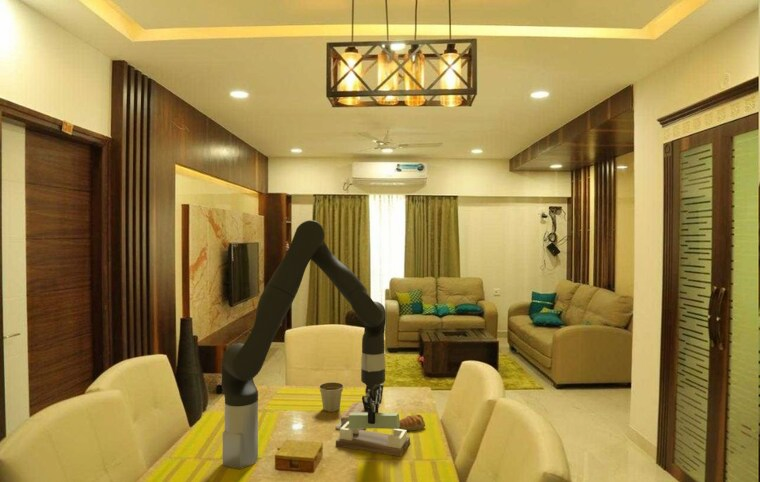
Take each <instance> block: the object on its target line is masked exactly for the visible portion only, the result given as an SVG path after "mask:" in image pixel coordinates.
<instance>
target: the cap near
mask: <svg viewBox="0 0 760 482" xmlns="http://www.w3.org/2000/svg"><path fill="white" fill-rule="evenodd" d="M407 431H408V430H403V429H399V428H398V429H392V432H393V434H390V435H389V436H388V447H394V448H400V449H401V447H402V446H403V445H404V443H405V442H406V440H407V437H408V435H407V433H408V432H407Z"/></svg>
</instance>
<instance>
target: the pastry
mask: <svg viewBox="0 0 760 482" xmlns="http://www.w3.org/2000/svg"><path fill="white" fill-rule="evenodd" d="M399 421H400V427H399V428H398V429H403V430H407V431H417V429H418V430H423V429H425V428H426V422H425V420H424V417H423V416H422V414H418V413H416V414H415V415H407V416H406V417H405V418H401V419H399ZM422 428H423V429H422Z"/></svg>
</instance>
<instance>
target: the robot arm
mask: <svg viewBox="0 0 760 482" xmlns="http://www.w3.org/2000/svg"><path fill="white" fill-rule="evenodd" d="M292 237H293V238H292V240H291V243H290V244H289V246H288V249H287V252H286V253H285V255H284V257H283V258H282V260H281V262H280V263H279V264H278V266H277V268H276V269H275V271H274V272H273V274H272V275H271V277H270V279H269V281H268V282H267V284H266V286H265V287H264V289H263V291H262V293H261V294H260V295H261V296H260V297H259V299H258V303H257V306H256V313H255V319H254V322H253V323H254V324H253V326H252V329H251V330H250V331H251V332H250V333H249V335H248V337H247V338H246V340H245V341H244V343H240V342H239V343H234V344H231V345H230V346H229V347H227V348H226V350H224V352H223V355H222V359H221V386H222V387H221V388H222V393H223V396H224V431H223V432H222V466H224V467H228V468H232V469H237V470H241V469H243V468H245V467H248V466H251V465H253V464H255V463H256V462H258V460H259V390H258V388H257V386H256V383H255V382H254V378H255V377H257V375H258V374H260V371H261V369H262V367H263V366H264V364H265V361H266V358H267V356H268V353H269V351H270V348H271V345H272V343H273V341H274V339H275V336H276V335H277V333H278V330H279V329H280V328H281V325H282V323H283V320H284V319H285V317H286V315H287V313H288V311H289V309H290V308H291V306H292V304H293V302H294V300H295V298H296V296H297V295H298V291H299V289H300V286H301V283H302V281H303V278H304V274H305V272H306V269H307V267H308V265H309V263H310V261H312V262H313V263H314V264H315V265H316V266H317V267H319V269H320V270H321V271H322V272H323V273H324V274H325V276H326V277H327V278H328V279H329V280H330V281H331V283H332V284H333V285H334V286H335V287H336V289H337V290H338V292H340V294H341V295H342V297H344V298H345V300H346V301H348V303H349V304H350V306H351V308H352V309H353V311H354V313H355V314H356V316H357V317H358V319H359V320H360V321H361V322H362V324H363V325H364V332H363V335H362V339H361V357H360V358H361V359H360V360H361V361H360V365H361V366H360V371H361V372H360V376H361V377H360V381H361V383H363V384H365V385H366V386H365V389H364V392H365V393H364V394H365V395H362V397H361V402H362V401H363V406H364V410H365V412H368V423H369V424H374V423H375V413H379V408H380V407H381V406H380V405H381V404H382V399H383V393H384V387H385V386H384V383H385V382H386V355H385V330H386V321H387V319H386V318H387V317H386V316H387V312H386V309H385V306H384V304H382V303H381V302H379V301H374V300H373V299H372V298H371V296H370V295H369V294H368V290H367V288H366V287H365V284H364V283H362V281H361V280H360V279H359V278H358V276H356V274H355V273H354V272H353V271H352V270H351V269H350V268H348V267H347V266H346V265H345V264H343V262H341V260H340V259H338V258H337V257H336V256H335V254H333V253H332V251H331V250H330V248H329V247H328V245H327V244H326V242H325V230H324V228H323V226H322V224H320V222H318V221H316V220H311V219H310V220H305V221H303V222H301V223H300V224H299V225H298V226H297V228H296V229H295V232H294V234H293V236H292Z"/></svg>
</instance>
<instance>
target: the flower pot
mask: <svg viewBox="0 0 760 482" xmlns="http://www.w3.org/2000/svg"><path fill="white" fill-rule="evenodd" d="M344 387H345V385H344V383H341V382H337V381H331V382H330V381H329V382H324V383H321V384H319V385H318V389H319V391H320V395H321V402H322V408H323V409H322V410H324V411H325V412H326V411H327V412H329V413H330V412H332V413H333V412H337V411H338V410H340V409H341V400H342V392H343V389H344Z"/></svg>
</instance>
